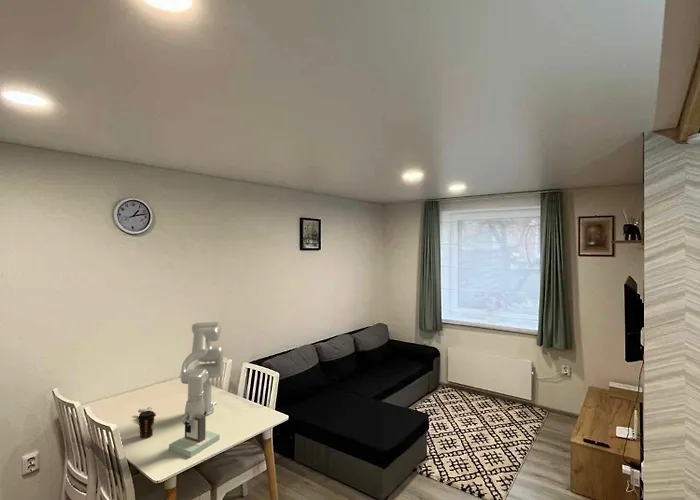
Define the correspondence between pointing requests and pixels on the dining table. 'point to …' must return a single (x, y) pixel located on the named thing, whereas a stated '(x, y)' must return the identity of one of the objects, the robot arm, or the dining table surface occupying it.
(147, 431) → the coffee cup
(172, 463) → the dining table surface
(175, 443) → the sage stand
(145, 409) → the bunny figurine
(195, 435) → the picture frame
